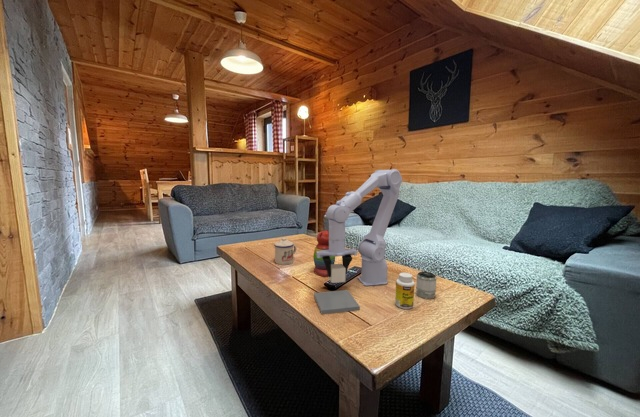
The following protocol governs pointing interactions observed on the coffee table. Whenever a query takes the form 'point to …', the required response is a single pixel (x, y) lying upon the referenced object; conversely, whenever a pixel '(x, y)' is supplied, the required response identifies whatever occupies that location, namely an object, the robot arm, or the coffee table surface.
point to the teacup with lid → (284, 252)
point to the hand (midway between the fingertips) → (336, 275)
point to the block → (337, 273)
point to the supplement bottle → (404, 291)
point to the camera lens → (426, 285)
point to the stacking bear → (322, 245)
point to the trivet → (336, 302)
